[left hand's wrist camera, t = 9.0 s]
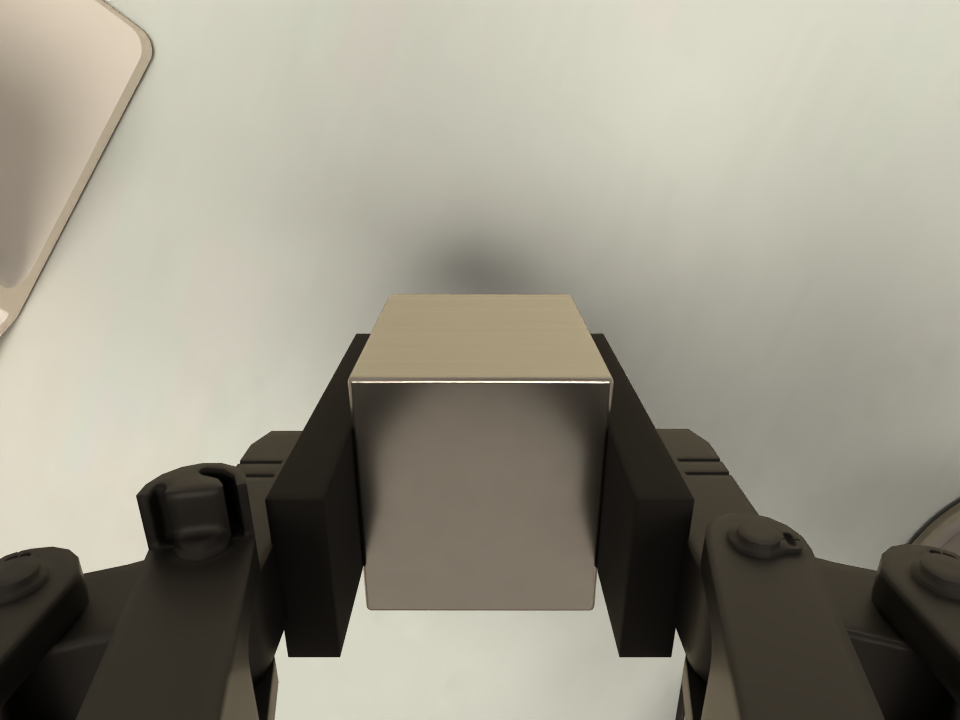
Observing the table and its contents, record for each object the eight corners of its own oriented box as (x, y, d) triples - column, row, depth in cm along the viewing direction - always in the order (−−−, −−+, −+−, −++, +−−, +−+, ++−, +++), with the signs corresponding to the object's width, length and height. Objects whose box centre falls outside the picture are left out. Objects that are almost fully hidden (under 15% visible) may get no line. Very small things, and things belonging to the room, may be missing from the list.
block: (571, 293, 14) (615, 377, 10) (562, 469, 16) (595, 612, 11) (389, 293, 14) (346, 377, 10) (398, 469, 16) (365, 612, 11)
